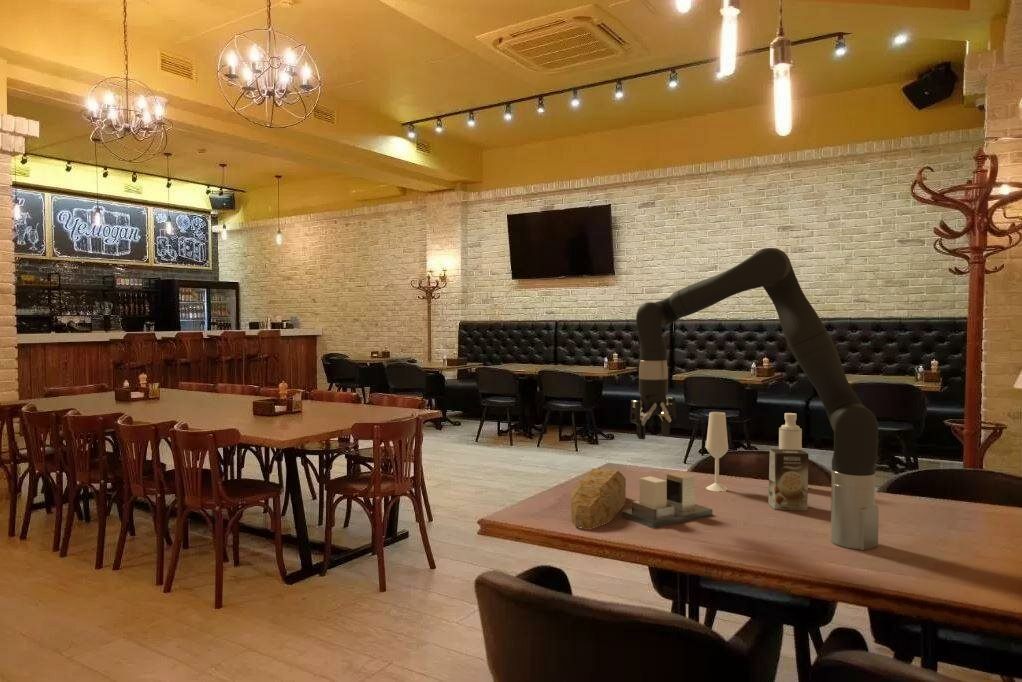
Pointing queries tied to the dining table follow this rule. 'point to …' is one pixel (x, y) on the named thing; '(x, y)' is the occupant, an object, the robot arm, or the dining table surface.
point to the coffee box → (788, 479)
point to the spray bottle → (790, 433)
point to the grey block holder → (670, 504)
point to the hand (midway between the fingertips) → (653, 437)
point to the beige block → (653, 492)
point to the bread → (597, 498)
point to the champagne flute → (717, 444)
